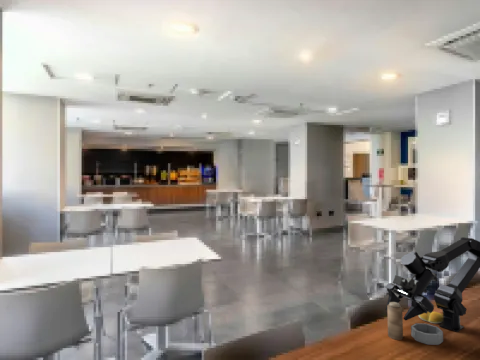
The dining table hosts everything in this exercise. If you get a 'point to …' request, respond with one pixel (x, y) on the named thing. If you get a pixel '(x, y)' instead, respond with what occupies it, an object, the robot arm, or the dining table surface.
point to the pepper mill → (395, 321)
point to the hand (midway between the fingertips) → (395, 314)
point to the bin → (427, 334)
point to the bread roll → (432, 317)
